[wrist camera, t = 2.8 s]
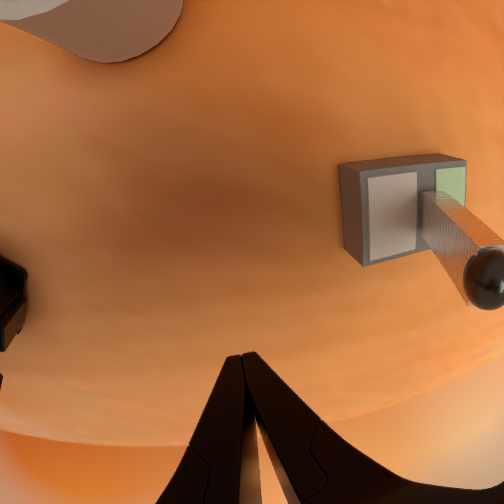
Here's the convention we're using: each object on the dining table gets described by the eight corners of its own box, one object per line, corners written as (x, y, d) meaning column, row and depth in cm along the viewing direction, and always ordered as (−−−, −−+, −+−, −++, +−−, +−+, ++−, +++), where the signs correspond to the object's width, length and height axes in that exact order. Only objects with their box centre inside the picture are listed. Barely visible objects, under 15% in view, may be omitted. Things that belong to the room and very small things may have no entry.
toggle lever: (413, 234, 18) (469, 328, 10) (414, 191, 17) (484, 265, 8) (448, 232, 17) (516, 320, 9) (450, 190, 16) (533, 260, 8)
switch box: (344, 248, 21) (364, 268, 18) (338, 164, 19) (361, 172, 16) (438, 226, 22) (463, 240, 19) (440, 153, 20) (468, 160, 17)
